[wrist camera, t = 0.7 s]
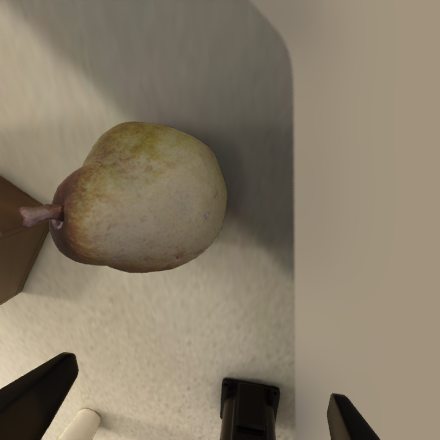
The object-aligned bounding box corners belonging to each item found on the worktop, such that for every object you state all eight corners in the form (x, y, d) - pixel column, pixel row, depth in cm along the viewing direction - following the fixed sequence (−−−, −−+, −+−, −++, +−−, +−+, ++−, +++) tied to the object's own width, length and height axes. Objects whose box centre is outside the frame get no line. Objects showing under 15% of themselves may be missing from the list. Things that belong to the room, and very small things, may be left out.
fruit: (118, 132, 20) (-69, 115, 8) (226, 117, 18) (179, 70, 7) (143, 242, 23) (31, 340, 11) (238, 238, 21) (218, 347, 10)
